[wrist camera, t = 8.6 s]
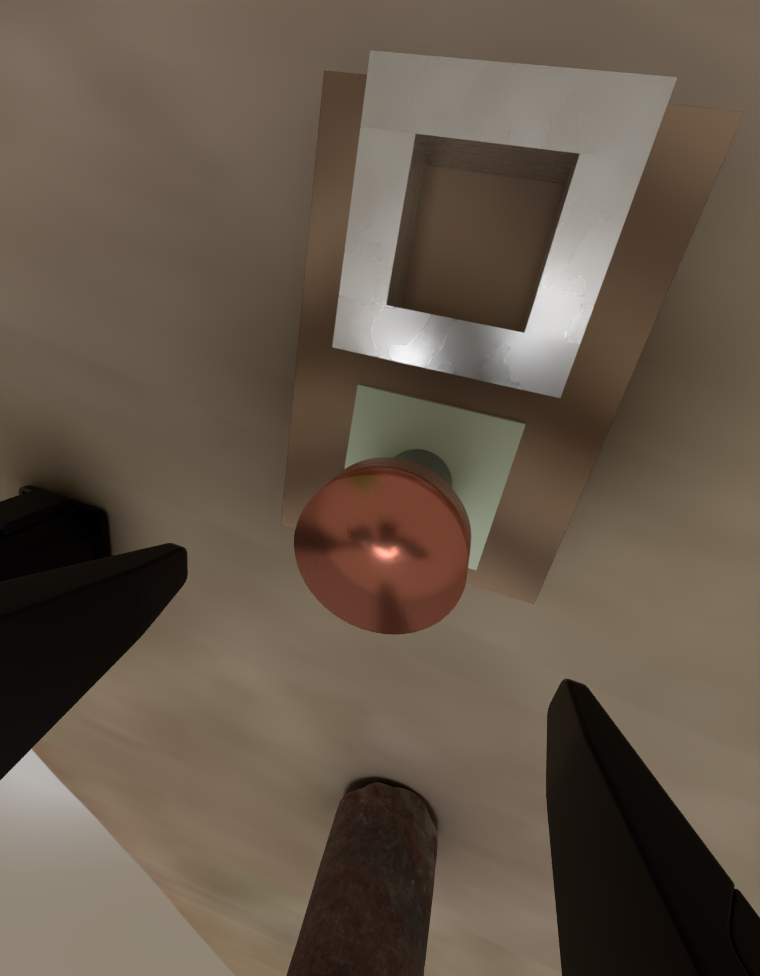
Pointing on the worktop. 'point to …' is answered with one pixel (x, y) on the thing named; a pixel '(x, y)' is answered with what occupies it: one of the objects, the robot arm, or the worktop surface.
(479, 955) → the worktop surface
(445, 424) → the rubber pad
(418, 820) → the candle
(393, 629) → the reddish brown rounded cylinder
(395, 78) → the block
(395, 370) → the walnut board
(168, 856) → the worktop surface
